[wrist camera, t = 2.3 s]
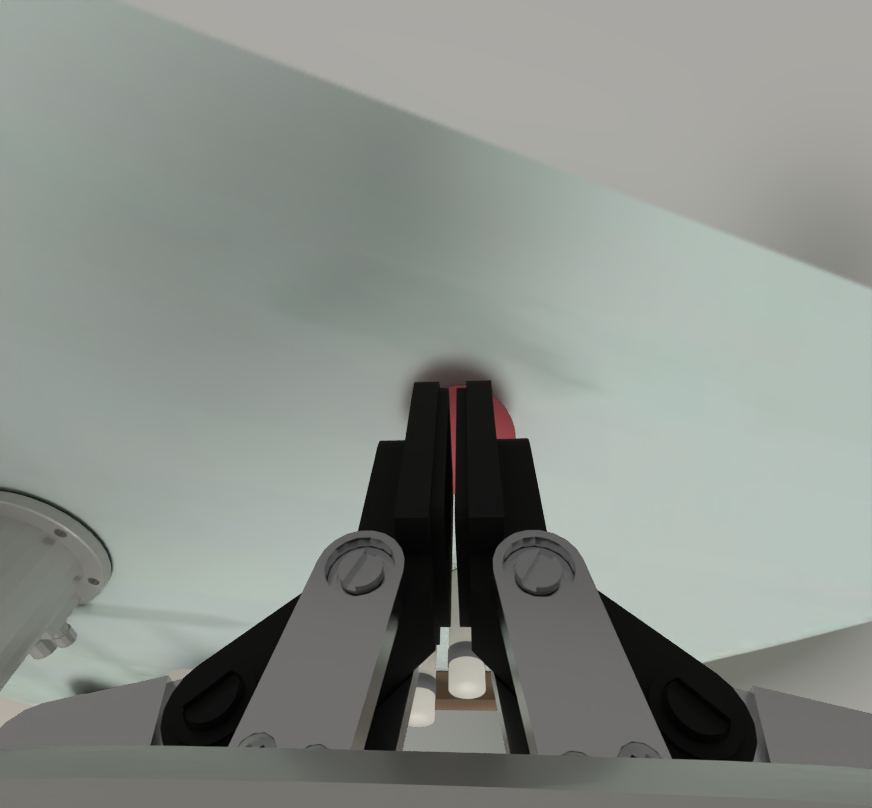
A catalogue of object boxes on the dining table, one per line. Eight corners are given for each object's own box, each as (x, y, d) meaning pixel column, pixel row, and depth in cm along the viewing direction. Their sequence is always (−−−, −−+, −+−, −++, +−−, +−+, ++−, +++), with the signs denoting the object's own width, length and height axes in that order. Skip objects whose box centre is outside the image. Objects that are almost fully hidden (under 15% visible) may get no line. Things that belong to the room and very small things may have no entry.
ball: (508, 447, 31) (518, 517, 26) (414, 449, 31) (407, 518, 26) (512, 364, 27) (525, 425, 22) (407, 367, 28) (397, 428, 23)
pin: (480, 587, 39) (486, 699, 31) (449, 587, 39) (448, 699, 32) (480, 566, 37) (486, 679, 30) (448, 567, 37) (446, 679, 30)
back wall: (529, 683, 46) (533, 710, 44) (405, 681, 47) (403, 709, 45) (530, 671, 45) (534, 700, 43) (404, 670, 46) (401, 698, 44)
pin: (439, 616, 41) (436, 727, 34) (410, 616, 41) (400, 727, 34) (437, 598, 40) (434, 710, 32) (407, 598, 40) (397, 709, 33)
